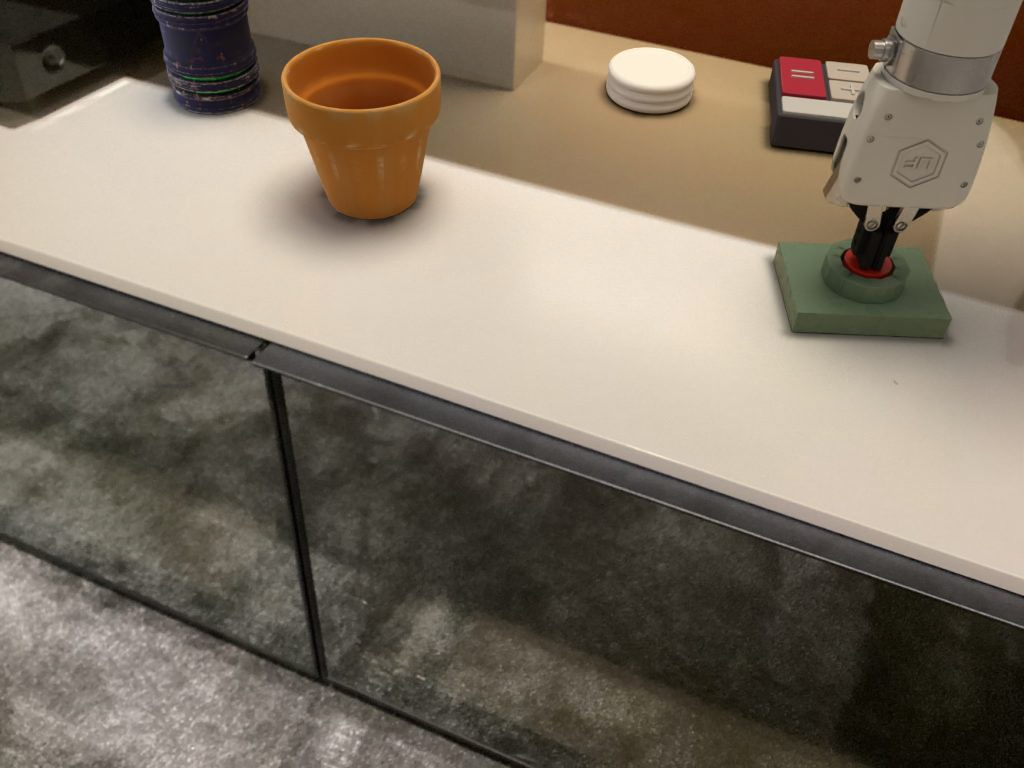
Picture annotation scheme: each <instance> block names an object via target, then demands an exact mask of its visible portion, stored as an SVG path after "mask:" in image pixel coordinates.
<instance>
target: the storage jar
mask: <svg viewBox="0 0 1024 768" xmlns="http://www.w3.org/2000/svg"><path fill="white" fill-rule="evenodd" d="M150 2H151V5H152V6H151V9H152V12H153V14H154V17H155V19H156V20H157V21H158V23H159V28H160V33H161V37H162V41H163V45H164V48H163V50H162V51H163V52H162V53H163V62H164V63H165V65H166V66H165V68H166V72H167V77H168V80H169V82H170V85H171V87H172V89H173V97H174V102H175V103H176V104H177V105H178V106H179V107H180V108H181V109H184V110H185V111H187V112H190V113H191V112H192V113H195V114H201V115H222V114H229V113H233V112H237V111H241V110H243V109H245V108H248V107H250V106H251V105H253V104H254V103H256V102H257V101H258V100H259V99H260V97H261V95H262V92H263V87H262V83H261V80H260V76H261V75H260V62H259V57H258V55H257V53H258V49H257V46H256V43H255V40H254V39H253V38H252V36H251V35H252V34H251V28H250V23H249V22H250V21H249V17H248V12H249V0H150Z"/></svg>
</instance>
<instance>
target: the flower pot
mask: <svg viewBox="0 0 1024 768" xmlns="http://www.w3.org/2000/svg"><path fill="white" fill-rule="evenodd" d="M441 78H442V73H441V68H440V66H439V64H438V62H437V60H436V59H435V58H434V57H433V56H432V55H431V54H430V53H428V52H427V51H425V50H423V49H421V48H420V47H418V46H416V45H414V44H411V43H407V42H404V41H400V40H395V39H389V38H382V37H352V38H344V39H337V40H332V41H328V42H324V43H321V44H318V45H314V46H311V47H309V48H307V49H305V50H303V51H301V52H299V53H298V54H296V55H295V56H293V57H292V58H291V59H290V60H289V61H288V62H287V63H286V64H285V66H284V68H283V70H282V72H281V76H280V81H281V82H280V83H281V88H282V93H283V99H284V104H285V109H286V114H287V117H288V120H289V122H290V124H291V125H292V127H293V128H294V129H295V130H296V131H297V133H299V134H300V135H301V136H303V138H304V141H305V143H306V147H307V149H308V151H309V154H310V157H311V159H312V163H313V164H314V167H315V170H316V173H317V176H318V178H319V180H320V183H321V185H322V187H323V189H324V190H323V191H324V193H325V195H326V197H327V199H328V202H329V203H330V205H331V206H332V208H334V209H335V210H336V211H337V212H338V213H340V214H343V215H345V216H348V217H351V218H353V219H354V218H355V219H361V220H379V219H380V220H381V219H385V218H386V219H387V218H389V217H393V216H396V215H398V214H401V213H402V212H403V211H405V210H406V209H409V208H411V206H412V205H413V204H414V203H415V202H416V199H417V197H418V195H419V190H420V189H419V188H420V184H421V179H422V173H423V169H424V164H425V157H426V152H427V146H428V140H429V134H430V128H431V127H432V126H433V125H434V124H435V123H436V122H437V120H438V118H439V115H440V112H441V104H442V79H441Z"/></svg>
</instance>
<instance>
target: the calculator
mask: <svg viewBox="0 0 1024 768" xmlns="http://www.w3.org/2000/svg"><path fill="white" fill-rule="evenodd" d="M870 72H871V70H870V68H869V67H868V65H866V64H859V63H849V62H839V61H830V60H826V61H825V63H822V61H821V60H819V59H811V58H804V57H803V58H801V57H792V56H782V55H781V56H779V57H778V58H775V59H774V60H773V63H772V67H771V71H770V76H769V80H768V88H769V105H770V129H769V131H770V132H769V133H770V143H771V145H773V146H777V147H783V148H794V149H802V150H811V151H817V152H818V151H820V152H828V153H834V152H835V149H836V146H837V143H838V140H839V138H840V135H841V132H842V130H843V127H844V125H845V122H846V120H847V117H848V115H849V112H850V110H851V108H852V106H853V103H854V101H855V99H856V97H857V95H858V93H859V91H860V89H861V87H862V86H863V84H864V82H865V80H866V78H867V77H868V75H869V73H870Z"/></svg>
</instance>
